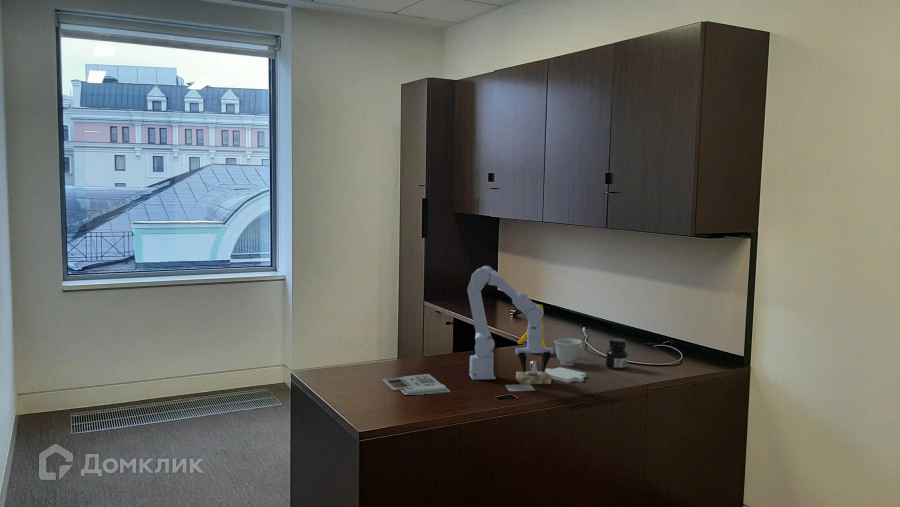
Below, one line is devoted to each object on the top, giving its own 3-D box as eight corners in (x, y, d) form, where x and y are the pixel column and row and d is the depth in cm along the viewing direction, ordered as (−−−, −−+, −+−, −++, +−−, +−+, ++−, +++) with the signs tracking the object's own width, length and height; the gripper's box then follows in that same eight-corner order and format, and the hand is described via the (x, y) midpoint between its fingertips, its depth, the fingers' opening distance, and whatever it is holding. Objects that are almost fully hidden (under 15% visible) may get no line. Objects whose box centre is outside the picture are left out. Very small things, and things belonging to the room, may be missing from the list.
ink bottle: (618, 371, 293) (619, 343, 292) (600, 367, 300) (601, 339, 299) (631, 367, 300) (633, 340, 299) (614, 363, 306) (615, 336, 305)
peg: (530, 382, 275) (530, 362, 274) (529, 380, 278) (529, 360, 277) (537, 383, 274) (538, 362, 274) (536, 380, 277) (537, 360, 277)
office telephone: (451, 387, 261) (399, 392, 253) (451, 394, 261) (399, 399, 253) (428, 370, 282) (380, 374, 274) (428, 377, 282) (380, 381, 275)
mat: (509, 391, 262) (509, 391, 262) (504, 385, 270) (504, 384, 270) (535, 391, 264) (535, 390, 264) (529, 385, 272) (530, 384, 272)
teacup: (592, 364, 304) (592, 341, 303) (566, 369, 296) (567, 345, 295) (572, 358, 314) (573, 336, 313) (547, 362, 306) (548, 340, 305)
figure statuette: (514, 350, 328) (515, 303, 326) (525, 347, 333) (526, 301, 331) (543, 357, 315) (545, 308, 313) (555, 354, 320) (556, 306, 318)
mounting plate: (591, 379, 283) (591, 374, 283) (573, 385, 273) (573, 380, 273) (554, 370, 295) (554, 365, 295) (535, 376, 286) (535, 371, 286)
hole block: (520, 384, 272) (520, 377, 271) (515, 379, 279) (516, 371, 279) (551, 384, 273) (551, 376, 273) (545, 378, 281) (545, 371, 281)
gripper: (518, 339, 270) (517, 374, 271) (555, 339, 272) (554, 373, 273) (514, 335, 277) (513, 369, 278) (550, 335, 279) (549, 369, 280)
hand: (533, 371), depth 276 cm, fingers open, 7 cm apart
